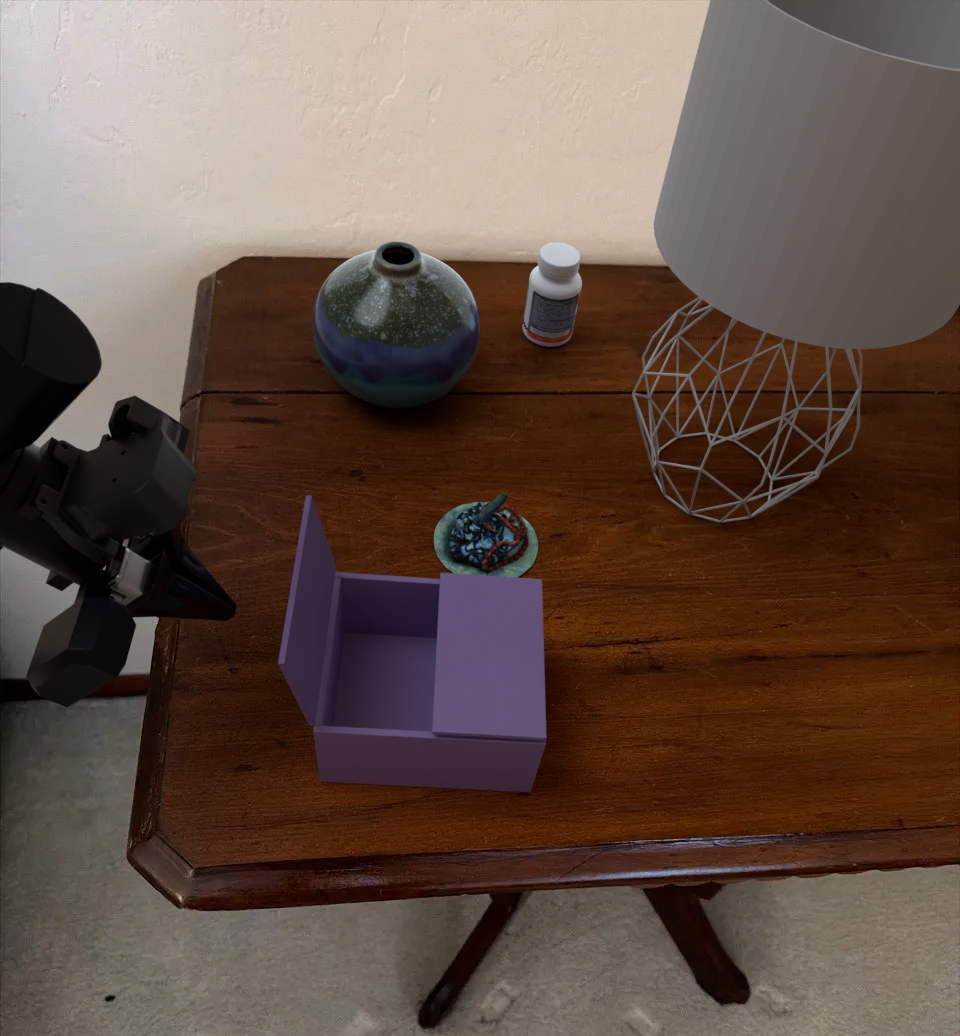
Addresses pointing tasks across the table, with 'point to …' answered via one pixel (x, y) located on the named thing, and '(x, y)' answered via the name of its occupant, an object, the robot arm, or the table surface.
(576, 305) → the pill bottle
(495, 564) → the dish
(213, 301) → the table surface
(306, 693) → the flap
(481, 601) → the file box
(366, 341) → the vase
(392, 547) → the table surface
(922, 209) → the table lamp
